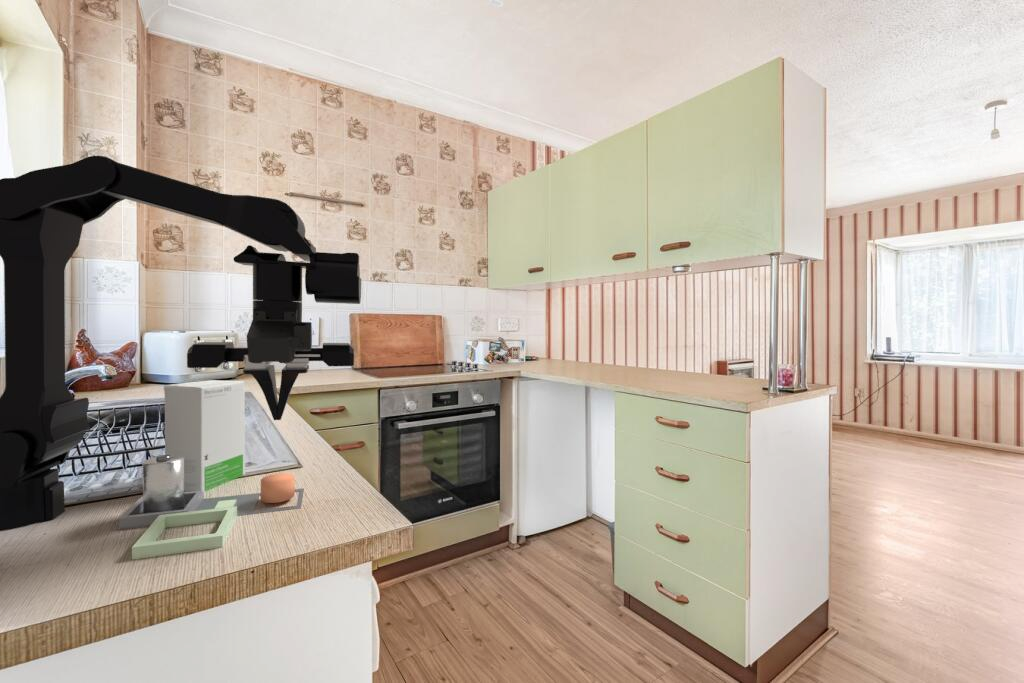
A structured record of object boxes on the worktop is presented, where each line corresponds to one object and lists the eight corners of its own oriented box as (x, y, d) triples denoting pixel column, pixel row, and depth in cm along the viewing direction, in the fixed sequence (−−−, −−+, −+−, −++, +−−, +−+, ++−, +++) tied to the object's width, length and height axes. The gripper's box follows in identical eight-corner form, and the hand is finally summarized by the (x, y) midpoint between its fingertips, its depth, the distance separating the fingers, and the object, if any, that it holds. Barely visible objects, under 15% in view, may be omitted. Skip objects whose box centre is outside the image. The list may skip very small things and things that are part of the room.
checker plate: (116, 538, 51) (115, 519, 51) (140, 512, 58) (140, 496, 57) (300, 515, 58) (300, 498, 58) (304, 495, 65) (304, 480, 64)
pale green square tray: (132, 568, 45) (131, 547, 45) (159, 533, 52) (159, 515, 52) (222, 555, 48) (222, 535, 48) (237, 523, 55) (237, 506, 55)
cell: (137, 522, 53) (136, 462, 53) (150, 508, 57) (149, 452, 56) (178, 517, 54) (177, 459, 54) (188, 504, 58) (187, 450, 58)
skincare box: (200, 500, 62) (199, 388, 61) (160, 495, 63) (159, 385, 62) (247, 479, 70) (247, 380, 69) (211, 475, 71) (211, 377, 70)
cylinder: (258, 504, 58) (258, 485, 57) (263, 492, 61) (263, 474, 61) (293, 500, 59) (293, 482, 59) (295, 489, 63) (295, 471, 63)
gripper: (170, 296, 48) (172, 441, 49) (356, 303, 55) (355, 429, 56) (199, 298, 58) (200, 418, 59) (352, 304, 65) (351, 411, 66)
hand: (277, 419), depth 60 cm, fingers closed
